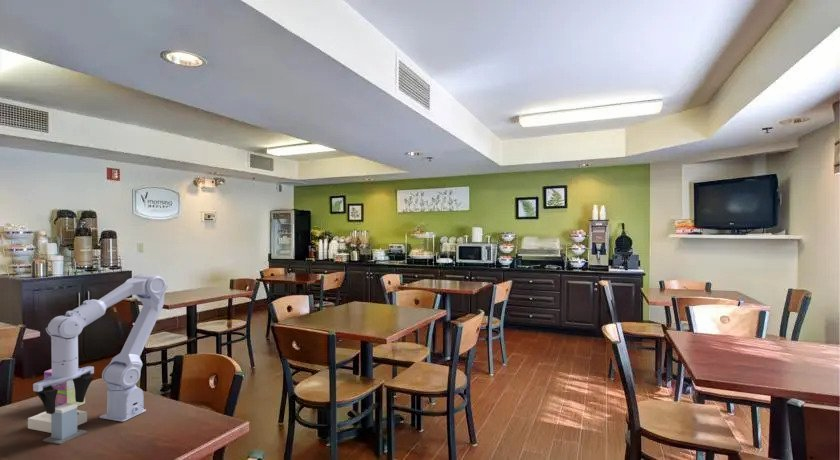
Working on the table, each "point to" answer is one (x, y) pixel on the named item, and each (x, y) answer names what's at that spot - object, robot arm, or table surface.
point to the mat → (60, 441)
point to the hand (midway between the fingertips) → (65, 407)
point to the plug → (64, 421)
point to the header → (44, 421)
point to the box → (64, 391)
